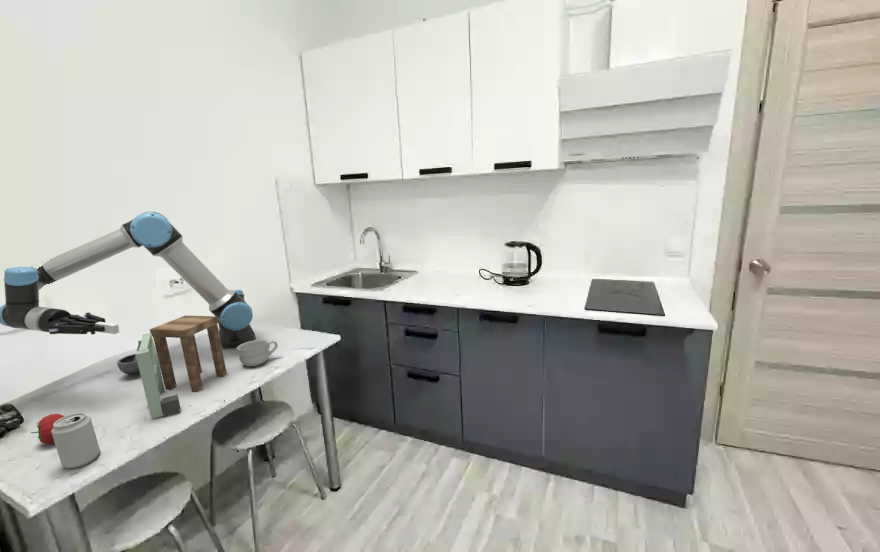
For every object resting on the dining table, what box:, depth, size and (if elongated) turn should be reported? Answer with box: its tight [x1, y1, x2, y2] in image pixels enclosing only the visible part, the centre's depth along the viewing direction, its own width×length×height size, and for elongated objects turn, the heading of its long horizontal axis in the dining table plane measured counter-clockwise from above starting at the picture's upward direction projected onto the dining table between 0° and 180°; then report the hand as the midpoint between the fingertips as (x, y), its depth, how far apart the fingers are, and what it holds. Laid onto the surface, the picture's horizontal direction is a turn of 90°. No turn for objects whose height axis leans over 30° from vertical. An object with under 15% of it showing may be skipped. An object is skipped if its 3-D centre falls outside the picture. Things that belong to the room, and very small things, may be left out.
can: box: [51, 412, 101, 469], centre depth 103 cm, size 8×8×12 cm
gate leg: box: [134, 333, 166, 420], centre depth 128 cm, size 20×3×21 cm, turn 31°
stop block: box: [161, 393, 181, 418], centre depth 125 cm, size 4×4×4 cm
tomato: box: [30, 413, 66, 445], centre depth 113 cm, size 8×8×8 cm
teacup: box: [236, 339, 278, 367], centre depth 157 cm, size 14×11×8 cm
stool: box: [149, 315, 228, 393], centre depth 142 cm, size 14×14×22 cm
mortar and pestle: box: [116, 340, 142, 380], centre depth 152 cm, size 11×9×12 cm
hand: (116, 329), depth 127 cm, fingers closed
